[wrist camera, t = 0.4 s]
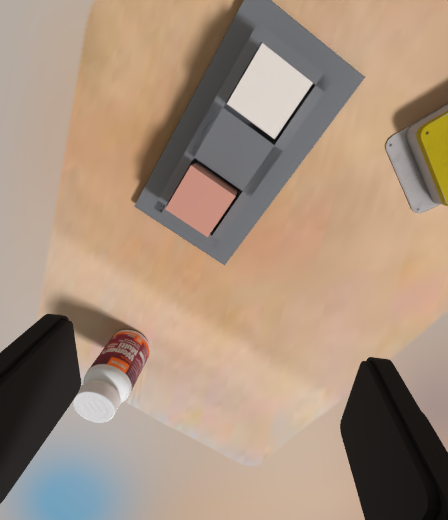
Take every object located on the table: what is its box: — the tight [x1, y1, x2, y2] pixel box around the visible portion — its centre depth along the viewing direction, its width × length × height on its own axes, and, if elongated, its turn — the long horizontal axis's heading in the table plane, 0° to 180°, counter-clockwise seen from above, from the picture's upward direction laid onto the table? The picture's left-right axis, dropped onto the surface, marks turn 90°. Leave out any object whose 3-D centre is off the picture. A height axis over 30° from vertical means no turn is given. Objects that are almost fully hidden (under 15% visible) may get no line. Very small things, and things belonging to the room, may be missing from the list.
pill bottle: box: [73, 330, 150, 423], centre depth 40 cm, size 6×6×11 cm
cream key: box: [227, 43, 313, 139], centre depth 26 cm, size 5×5×3 cm
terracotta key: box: [166, 162, 238, 237], centre depth 30 cm, size 5×5×3 cm
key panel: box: [135, 0, 365, 265], centre depth 30 cm, size 24×13×4 cm, turn 146°
